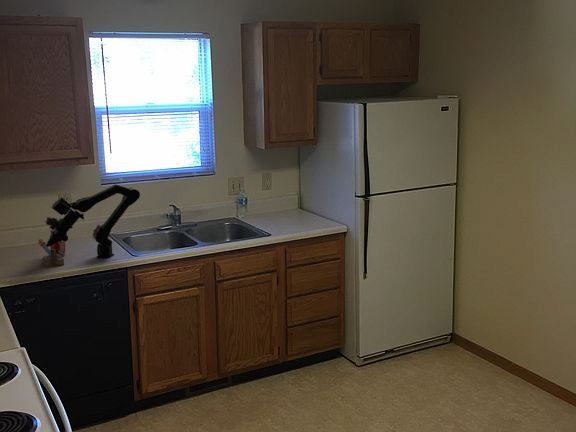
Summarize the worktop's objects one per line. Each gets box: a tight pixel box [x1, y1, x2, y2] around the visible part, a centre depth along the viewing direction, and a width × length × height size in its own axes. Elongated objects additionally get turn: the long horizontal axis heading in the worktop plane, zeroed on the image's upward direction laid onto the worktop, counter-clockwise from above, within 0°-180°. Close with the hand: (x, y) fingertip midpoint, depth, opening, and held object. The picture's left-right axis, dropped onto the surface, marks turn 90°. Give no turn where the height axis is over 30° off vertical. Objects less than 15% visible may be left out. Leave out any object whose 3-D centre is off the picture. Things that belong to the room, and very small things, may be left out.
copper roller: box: [37, 238, 52, 259], centre depth 307 cm, size 2×6×10 cm
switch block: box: [42, 249, 65, 268], centre depth 309 cm, size 8×10×6 cm
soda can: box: [49, 234, 67, 257], centre depth 322 cm, size 7×7×12 cm
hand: (46, 246), depth 306 cm, fingers closed
